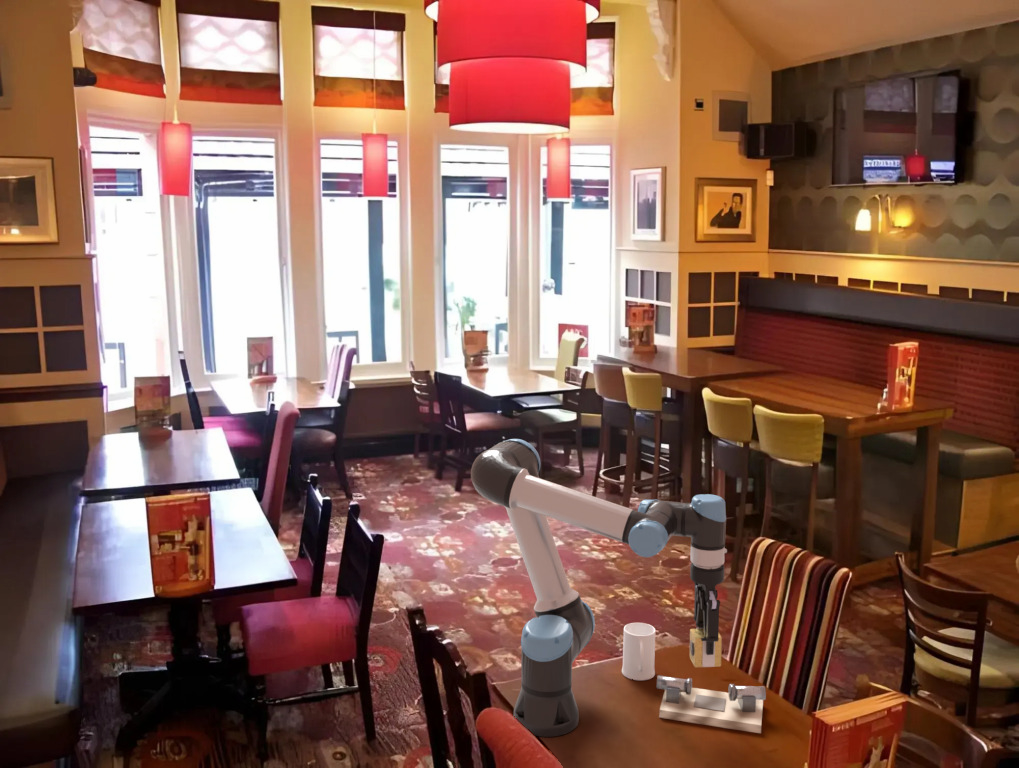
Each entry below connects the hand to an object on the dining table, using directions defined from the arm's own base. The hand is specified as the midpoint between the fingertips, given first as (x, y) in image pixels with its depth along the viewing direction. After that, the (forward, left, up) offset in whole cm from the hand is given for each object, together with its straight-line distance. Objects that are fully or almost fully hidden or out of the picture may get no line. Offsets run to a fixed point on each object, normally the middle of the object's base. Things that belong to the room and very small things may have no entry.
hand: (705, 660), depth 212 cm
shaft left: (-7, +5, -13) cm, 16 cm away
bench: (+2, +5, -15) cm, 16 cm away
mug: (-18, +18, -15) cm, 30 cm away
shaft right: (+9, +6, -13) cm, 18 cm away
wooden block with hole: (0, 0, 0) cm, 0 cm away
